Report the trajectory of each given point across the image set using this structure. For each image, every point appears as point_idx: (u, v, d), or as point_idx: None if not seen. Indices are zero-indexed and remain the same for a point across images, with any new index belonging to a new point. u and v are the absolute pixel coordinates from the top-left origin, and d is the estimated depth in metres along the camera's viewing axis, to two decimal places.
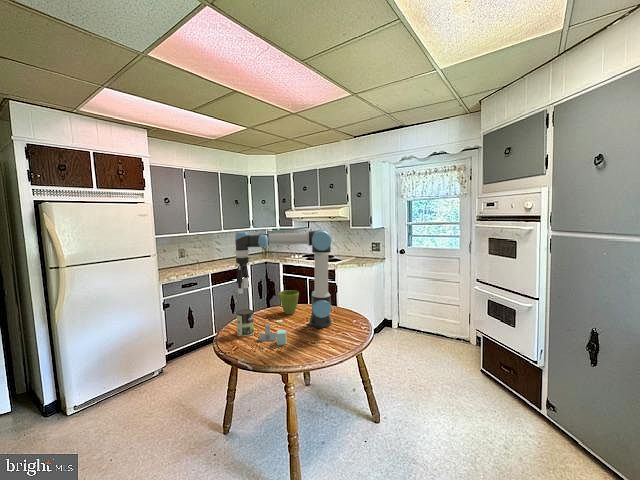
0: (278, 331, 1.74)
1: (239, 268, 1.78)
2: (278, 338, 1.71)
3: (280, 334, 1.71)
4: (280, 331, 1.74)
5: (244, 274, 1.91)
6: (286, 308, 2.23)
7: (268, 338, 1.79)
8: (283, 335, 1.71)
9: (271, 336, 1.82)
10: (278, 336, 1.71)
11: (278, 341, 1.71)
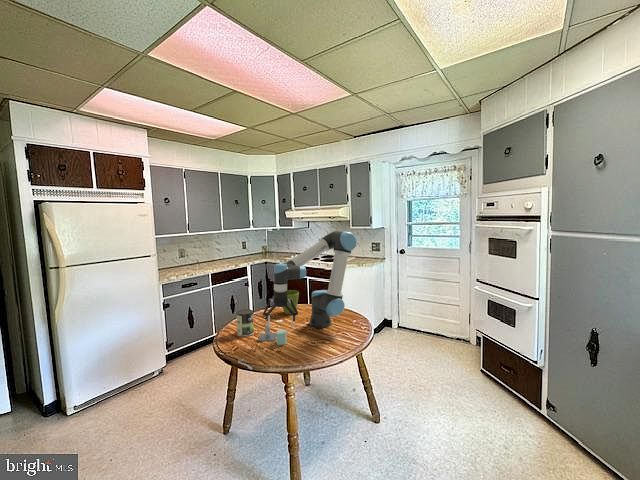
0: (278, 331, 1.74)
1: None
2: (278, 338, 1.71)
3: (280, 334, 1.71)
4: (280, 331, 1.74)
5: None
6: (286, 308, 2.23)
7: (268, 338, 1.79)
8: (283, 335, 1.71)
9: (271, 336, 1.82)
10: (278, 336, 1.71)
11: (278, 341, 1.71)
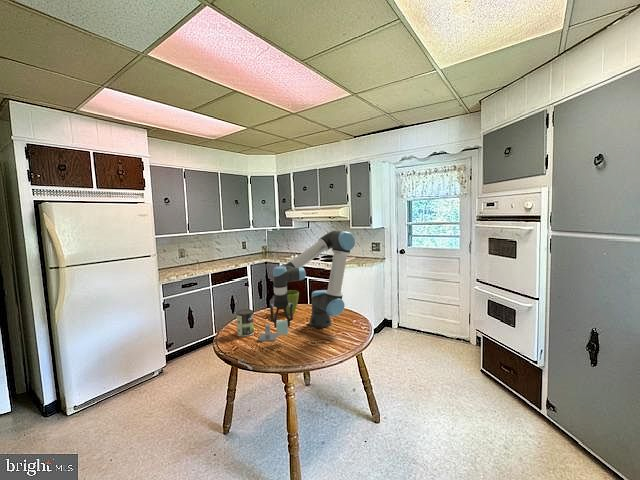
0: (279, 321, 1.74)
1: None
2: (279, 328, 1.71)
3: (281, 324, 1.71)
4: (281, 321, 1.74)
5: (286, 315, 1.74)
6: (286, 308, 2.23)
7: (268, 338, 1.79)
8: (284, 325, 1.71)
9: (271, 336, 1.82)
10: (279, 326, 1.71)
11: (279, 331, 1.71)
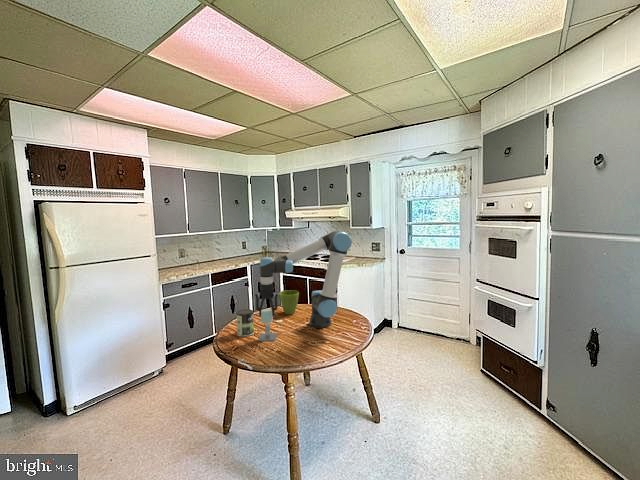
0: (264, 310, 1.81)
1: None
2: (263, 316, 1.78)
3: (265, 313, 1.78)
4: (266, 310, 1.81)
5: None
6: (286, 308, 2.23)
7: (268, 338, 1.79)
8: (268, 314, 1.78)
9: (271, 336, 1.82)
10: (263, 314, 1.78)
11: (263, 319, 1.78)
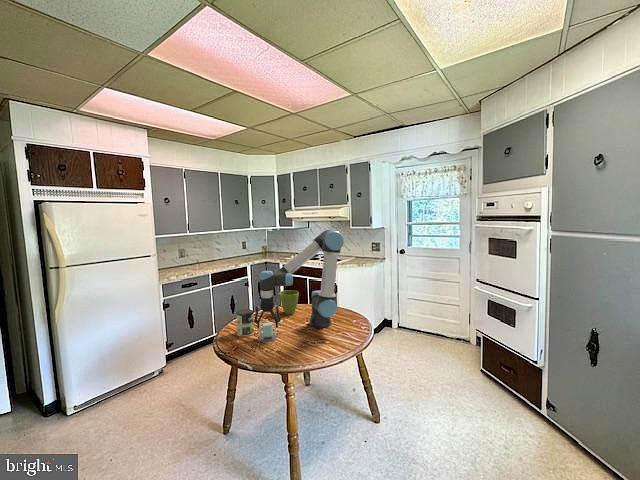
0: (264, 323, 1.82)
1: None
2: (264, 330, 1.79)
3: (266, 326, 1.79)
4: (266, 324, 1.81)
5: None
6: (286, 308, 2.23)
7: (268, 338, 1.79)
8: (269, 328, 1.79)
9: (271, 336, 1.82)
10: (264, 328, 1.79)
11: (264, 333, 1.79)
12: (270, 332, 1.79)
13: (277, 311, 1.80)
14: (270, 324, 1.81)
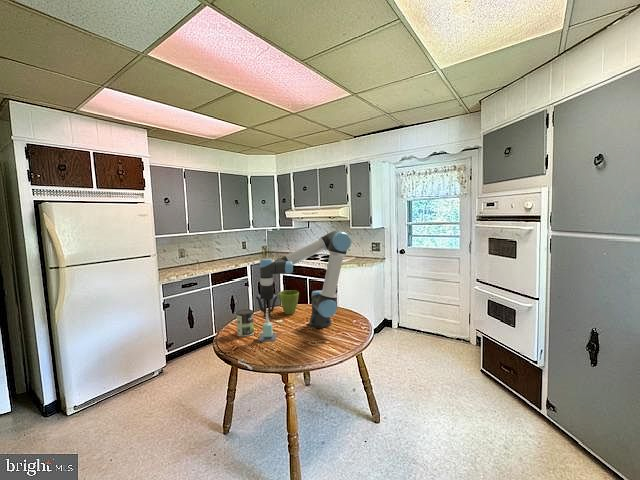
0: (264, 323, 1.82)
1: None
2: (264, 330, 1.79)
3: (266, 326, 1.79)
4: (266, 324, 1.81)
5: (268, 306, 1.81)
6: (286, 308, 2.23)
7: (268, 338, 1.79)
8: (269, 328, 1.79)
9: (271, 336, 1.82)
10: (264, 328, 1.79)
11: (264, 333, 1.79)
12: (270, 332, 1.79)
13: (274, 301, 1.79)
14: (270, 324, 1.81)
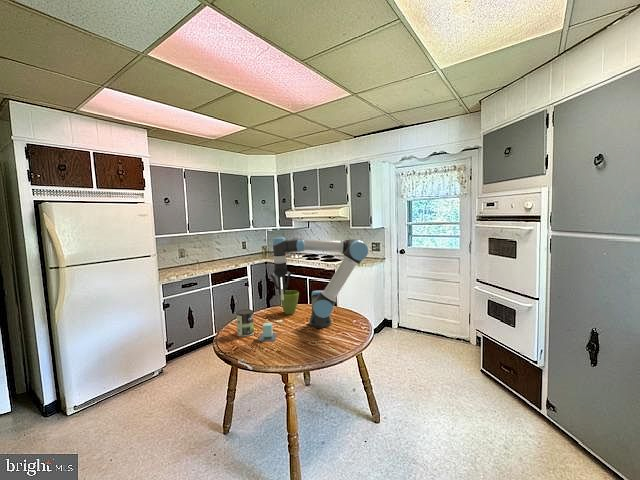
0: (264, 323, 1.82)
1: None
2: (264, 330, 1.79)
3: (266, 326, 1.79)
4: (266, 324, 1.81)
5: None
6: (286, 308, 2.23)
7: (268, 338, 1.79)
8: (269, 328, 1.79)
9: (271, 336, 1.82)
10: (264, 328, 1.79)
11: (264, 333, 1.79)
12: (270, 332, 1.79)
13: (288, 278, 1.85)
14: (270, 324, 1.81)
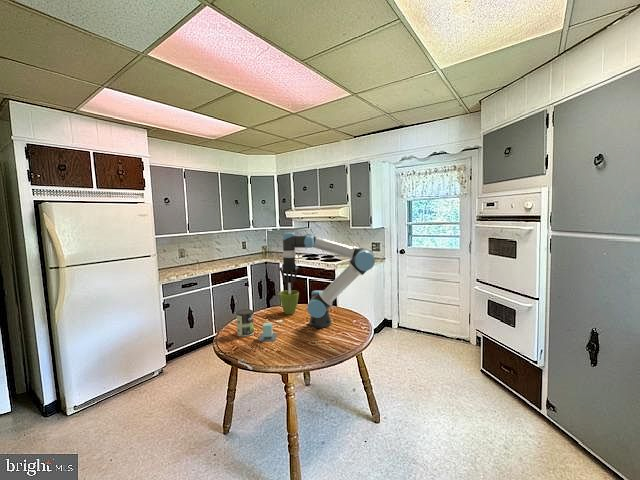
0: (264, 323, 1.82)
1: None
2: (264, 330, 1.79)
3: (266, 326, 1.79)
4: (266, 324, 1.81)
5: None
6: (286, 308, 2.23)
7: (268, 338, 1.79)
8: (269, 328, 1.79)
9: (271, 336, 1.82)
10: (264, 328, 1.79)
11: (264, 333, 1.79)
12: (270, 332, 1.79)
13: (296, 272, 1.89)
14: (270, 324, 1.81)
